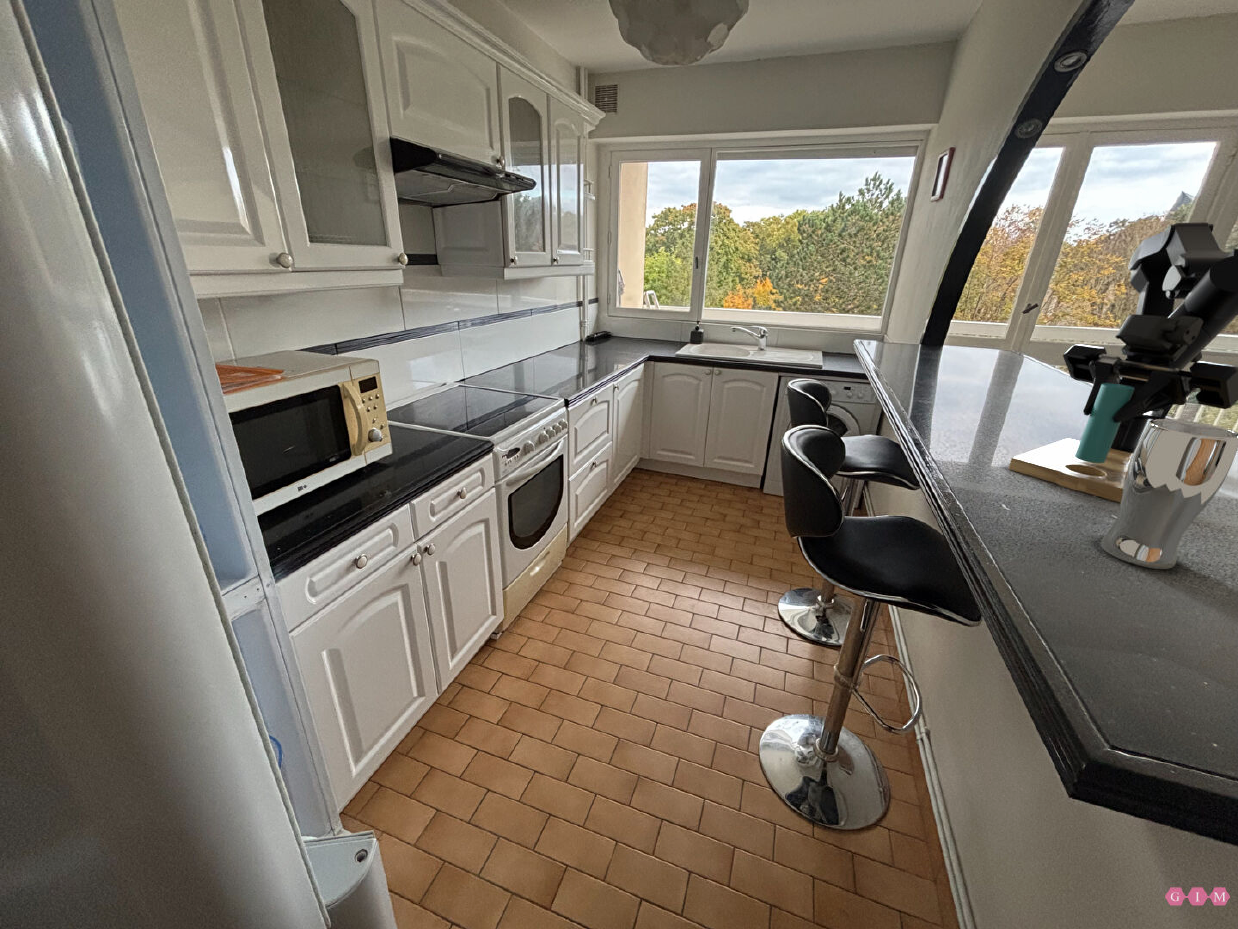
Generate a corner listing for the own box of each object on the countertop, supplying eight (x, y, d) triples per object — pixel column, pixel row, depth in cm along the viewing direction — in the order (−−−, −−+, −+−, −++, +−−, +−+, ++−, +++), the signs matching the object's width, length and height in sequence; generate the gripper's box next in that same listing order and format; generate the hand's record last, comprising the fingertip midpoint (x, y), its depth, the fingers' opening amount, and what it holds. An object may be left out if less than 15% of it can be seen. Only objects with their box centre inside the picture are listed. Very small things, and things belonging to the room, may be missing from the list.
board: (1063, 448, 90) (1067, 438, 89) (1171, 476, 79) (1177, 464, 78) (1006, 469, 80) (1010, 457, 80) (1120, 504, 69) (1126, 490, 68)
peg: (1080, 453, 77) (1107, 382, 73) (1108, 460, 74) (1138, 387, 70) (1070, 457, 75) (1097, 384, 71) (1099, 464, 72) (1129, 389, 68)
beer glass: (1198, 576, 53) (1269, 441, 48) (1121, 567, 54) (1181, 435, 49) (1148, 542, 59) (1205, 420, 54) (1081, 535, 61) (1129, 416, 55)
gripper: (1094, 288, 75) (1017, 366, 76) (1275, 297, 59) (1173, 396, 60) (1110, 340, 80) (1037, 412, 81) (1280, 362, 64) (1187, 452, 65)
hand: (1099, 417), depth 72 cm, fingers closed on peg, 3 cm apart
